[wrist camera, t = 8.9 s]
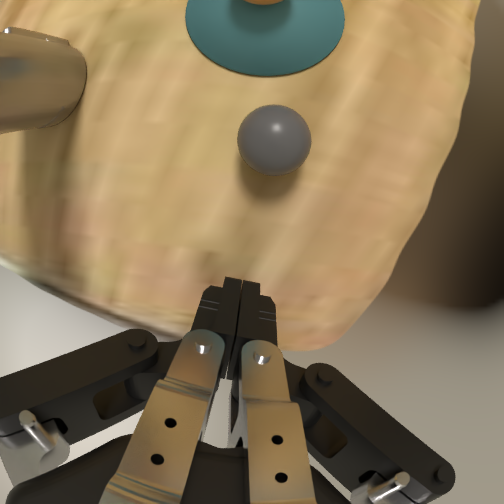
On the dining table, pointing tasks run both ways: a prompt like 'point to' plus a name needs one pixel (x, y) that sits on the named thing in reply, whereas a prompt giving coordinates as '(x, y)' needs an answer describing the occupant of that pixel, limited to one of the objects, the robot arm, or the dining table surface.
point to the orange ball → (263, 2)
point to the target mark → (265, 33)
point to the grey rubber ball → (274, 140)
